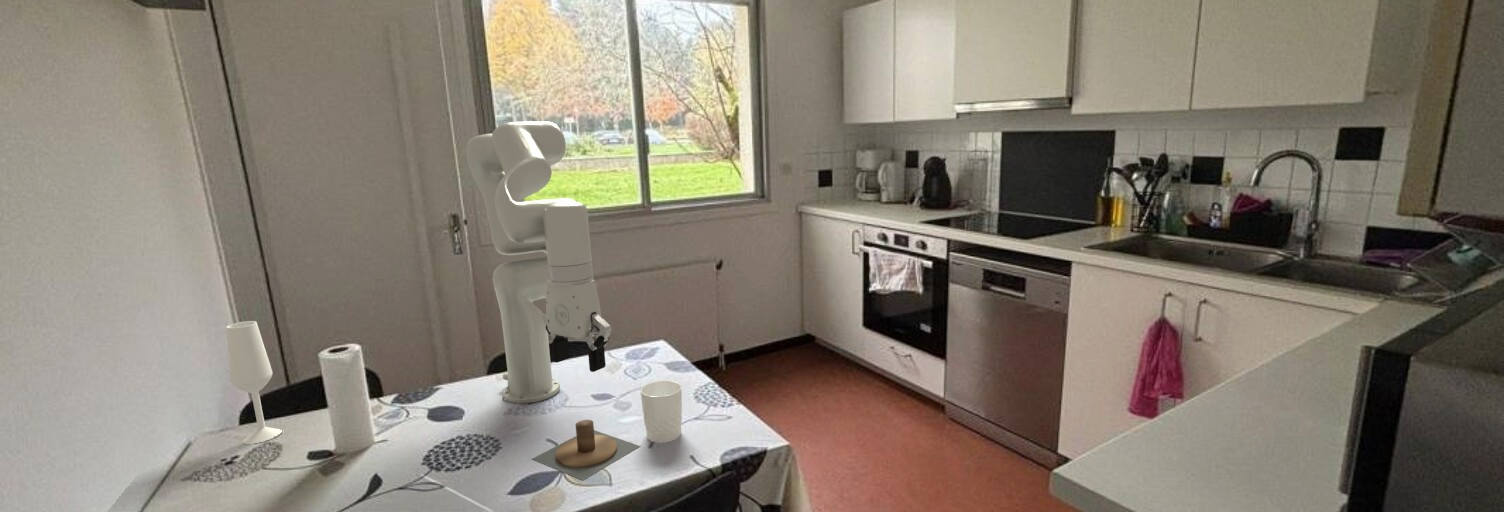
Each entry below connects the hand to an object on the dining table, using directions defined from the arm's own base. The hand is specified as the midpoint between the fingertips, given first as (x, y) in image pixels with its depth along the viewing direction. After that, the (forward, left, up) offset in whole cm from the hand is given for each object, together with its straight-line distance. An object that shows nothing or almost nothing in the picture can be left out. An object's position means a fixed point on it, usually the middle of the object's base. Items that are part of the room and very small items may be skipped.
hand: (579, 364), depth 114 cm
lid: (0, 0, -17) cm, 17 cm away
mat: (0, 0, -18) cm, 18 cm away
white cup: (+7, +13, -18) cm, 23 cm away
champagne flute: (-64, -30, -18) cm, 73 cm away
